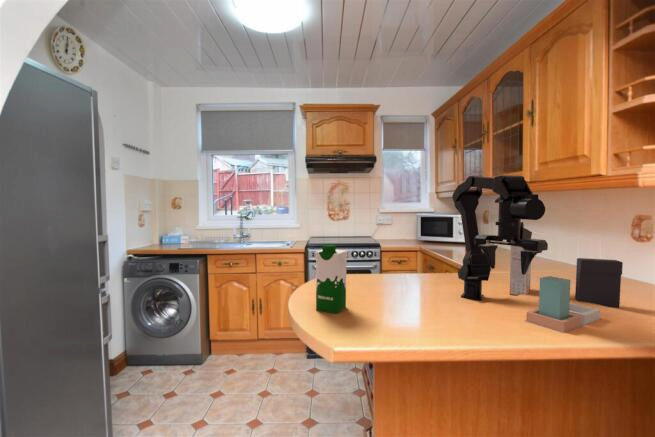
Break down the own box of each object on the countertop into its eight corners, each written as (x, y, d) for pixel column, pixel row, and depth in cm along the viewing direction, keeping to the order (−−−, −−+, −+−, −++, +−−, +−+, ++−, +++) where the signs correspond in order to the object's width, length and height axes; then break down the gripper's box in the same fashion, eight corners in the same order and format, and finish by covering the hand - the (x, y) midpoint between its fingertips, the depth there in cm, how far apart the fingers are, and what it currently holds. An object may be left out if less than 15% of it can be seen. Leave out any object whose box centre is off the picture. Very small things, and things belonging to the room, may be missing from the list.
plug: (538, 321, 87) (539, 278, 87) (548, 318, 90) (549, 276, 89) (558, 328, 83) (560, 281, 83) (568, 324, 86) (570, 279, 85)
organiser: (523, 324, 88) (524, 311, 88) (562, 312, 99) (563, 300, 99) (563, 337, 80) (564, 323, 80) (601, 322, 90) (602, 309, 90)
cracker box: (512, 286, 129) (514, 234, 128) (530, 289, 125) (532, 235, 124) (508, 294, 118) (510, 237, 117) (527, 297, 114) (529, 238, 113)
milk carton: (312, 310, 98) (312, 245, 97) (324, 302, 106) (325, 242, 105) (338, 315, 94) (339, 247, 94) (349, 306, 103) (350, 243, 102)
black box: (613, 304, 107) (615, 259, 106) (620, 308, 103) (623, 261, 102) (573, 301, 110) (575, 257, 109) (579, 304, 106) (581, 259, 105)
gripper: (559, 219, 90) (557, 274, 91) (495, 216, 107) (494, 263, 107) (537, 220, 85) (535, 279, 86) (474, 217, 101) (472, 266, 102)
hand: (507, 271), depth 95 cm, fingers open, 9 cm apart
